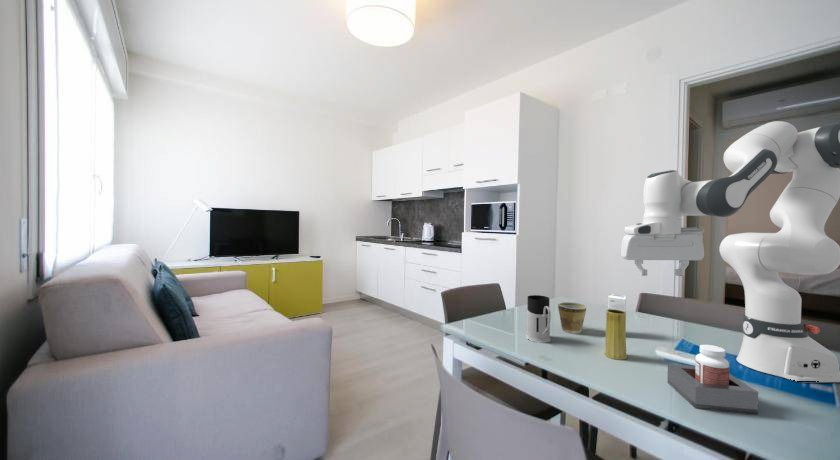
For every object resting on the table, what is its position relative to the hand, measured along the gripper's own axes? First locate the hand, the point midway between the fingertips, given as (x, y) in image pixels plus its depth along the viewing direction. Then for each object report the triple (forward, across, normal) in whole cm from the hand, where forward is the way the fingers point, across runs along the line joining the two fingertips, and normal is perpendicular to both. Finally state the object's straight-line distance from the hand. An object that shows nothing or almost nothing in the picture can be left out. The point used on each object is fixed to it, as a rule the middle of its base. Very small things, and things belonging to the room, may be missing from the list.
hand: (661, 275), depth 95 cm
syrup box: (+27, +1, -28) cm, 39 cm away
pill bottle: (+26, -4, +16) cm, 31 cm away
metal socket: (+27, -3, +16) cm, 31 cm away
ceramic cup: (+27, +17, -31) cm, 44 cm away
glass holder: (+27, +30, -16) cm, 44 cm away
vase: (+27, +10, -7) cm, 29 cm away
